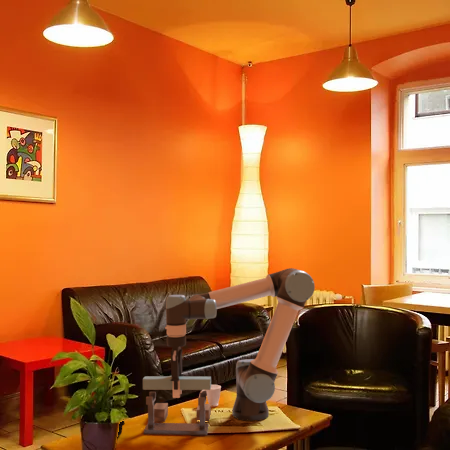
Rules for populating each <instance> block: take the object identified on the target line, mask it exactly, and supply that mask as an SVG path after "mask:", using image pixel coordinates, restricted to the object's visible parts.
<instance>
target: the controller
mask: <svg viewBox="0 0 450 450" xmlns="http://www.w3.org/2000/svg"><path fill="white" fill-rule="evenodd" d="M125 424H126V423H125V420H124V421H122V422H120V424H119V432H118V436H117V437H120V436H121V435H122V433H123V426H125Z"/></svg>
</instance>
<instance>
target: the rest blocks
mask: <svg viewBox="0 0 450 450" xmlns="http://www.w3.org/2000/svg"><path fill="white" fill-rule="evenodd" d="M211 411H212V406H211V404H209V403H205V421H209V422H210V420H209V419H211V417H210V415H211V414H212V413H211ZM195 414H196V416H195V417H196V418H195V419H196V420H200V417H199V406H198V405H197V407H196V413H195ZM168 415H169V403H168V402H156V403H154V423H166V420H167V418H168ZM211 416H212V415H211ZM196 420H195V421H196Z"/></svg>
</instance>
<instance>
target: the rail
mask: <svg viewBox="0 0 450 450" xmlns="http://www.w3.org/2000/svg"><path fill="white" fill-rule="evenodd" d="M171 378H172V375H171V376H168V375H167V376H164V375H163V376H162V375H161V376H158V375H157V376H153V375H152V376H148V375H147V376H144V377H143V378H142V390H145V391H146V390H149V391H150V390H155V391H156V390H158V391H159V390H161V391H162V390H164V391H165V390H166V391H167V390H169V391H171V390H172V391H173V383H172V381H170V380H171ZM179 380H180V390H182V391H185V390H186V391H192V390H193V391H202V390H210V389H211V385H212V376H185V375H183V376H179Z"/></svg>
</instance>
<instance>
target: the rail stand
mask: <svg viewBox="0 0 450 450" xmlns="http://www.w3.org/2000/svg"><path fill="white" fill-rule="evenodd" d="M148 395H149V396H146V397H145V405H146V406H147V424H146V425H145V426H144V428H143V435H168V436H169V435H172V436H173V435H174V436H175V435H176V436H207V435H208V432H209V428H210V426H209V423H205V404H207V392H202V393H200V392H199V395H200V397H199V396H198V397H197V404H198V405H197V407H198V406H199V417H200V422H199V423H194V422H193V423H187V422H186V423H185V422H179V423H178V422H176V423H175V422H155V421H154V405H155V401H156V397H157V393H156V391H149V392H148ZM208 427H209V428H208ZM207 431H208V432H207Z"/></svg>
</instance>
